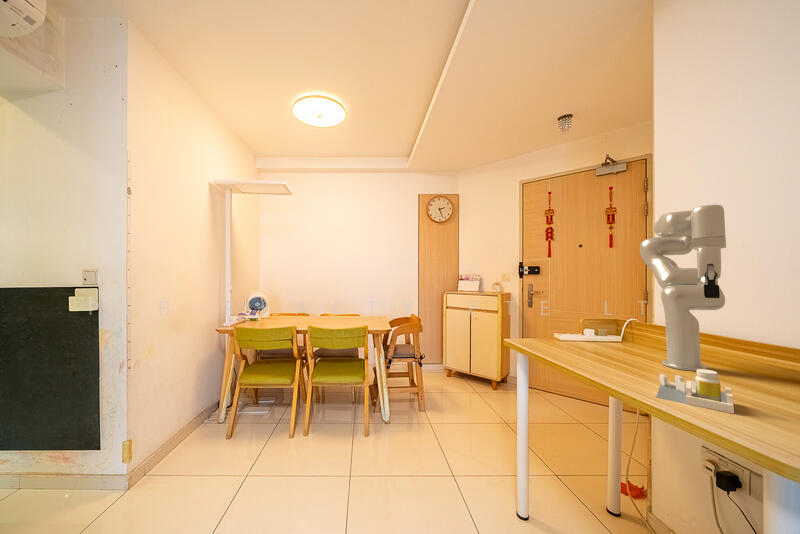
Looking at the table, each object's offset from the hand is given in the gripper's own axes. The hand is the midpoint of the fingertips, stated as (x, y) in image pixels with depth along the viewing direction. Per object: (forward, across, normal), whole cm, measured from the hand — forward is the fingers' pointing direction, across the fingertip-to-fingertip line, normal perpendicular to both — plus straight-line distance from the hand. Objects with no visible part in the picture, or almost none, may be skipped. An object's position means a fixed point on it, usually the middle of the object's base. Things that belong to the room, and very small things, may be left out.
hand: (711, 297), depth 94 cm
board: (+28, +16, -5) cm, 33 cm away
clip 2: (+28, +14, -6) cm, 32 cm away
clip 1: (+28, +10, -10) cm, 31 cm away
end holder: (+28, +20, -2) cm, 35 cm away
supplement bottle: (+28, +20, -2) cm, 35 cm away
